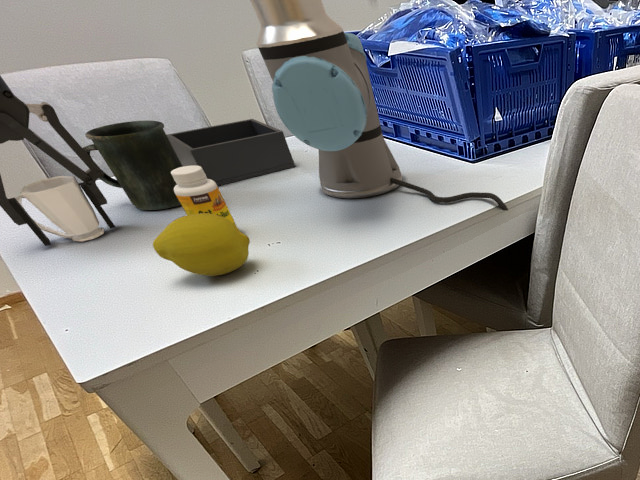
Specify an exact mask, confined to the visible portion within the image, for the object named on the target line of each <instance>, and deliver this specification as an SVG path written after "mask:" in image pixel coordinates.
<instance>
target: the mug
mask: <svg viewBox="0 0 640 480" xmlns="http://www.w3.org/2000/svg"><path fill="white" fill-rule="evenodd" d="M164 128H165V124H164V123H163V122H161V121H158V120H133V121H124V122H117V123H112V124H111V123H110V124H107V125H102V126H99V127H95V128H92V129H89V130H88V131H86V132H85V137H86V139H88V140H90V141H91V142H92V143H93V144H88V145H86V146H84V147H82V148H83V149H84V150H85V152H86V153H87V154H88V155H89V156H90V157H91V158H92V160H93V161H94V159H93V157H92V155H91V152H93V151H94V152H95V151H98V152H99V155H101V157H102V159H103V160H104V162H105V164H106V165H107V167H108V168H109V170H110V171H111V173H112V174H113V176H114V178H113V177H111V176H110V175H108V174H107V173H106V172H105V171H103V172H104V176H103V177H100V178H98V179H99V180H100V181H102V182H103V183H104V184H106V185H108V186H111V187H113V188H118V189H122V190H123V192H124V193H125V195H126V197H127V198H128V200H129V201H130V203H131V204H132V206H134V207H135V208H137V209H138V210H143V211H158V210H166V209H171V208H175V207H178V206H182V205H181V203H180V202H179V200H178V198H177V196H176V194H175V192H174V187H175V186H176V185H177V184H176V182H175V181H174V178H173V176H172V174H171V171H172V170H174V169H177V168H180V167H183V166H182V164H181V162H180V160H179V158H178V156H177V154H176V152H175V151H174V149H173V147H172V145H171V143H170V141H169V139H168V137H167V133H166V132H165V129H164Z"/></svg>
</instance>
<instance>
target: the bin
mask: <svg viewBox="0 0 640 480" xmlns="http://www.w3.org/2000/svg"><path fill="white" fill-rule="evenodd" d="M166 135H167V137H168V139H169V141H170V143H171V145H172V147H173V149H174V151H175V152H176V154H177V156H178V158H179V160H180V162H181V164H182V166H183V167H184V166H193V165H196V166H201V167H202V169H203V171H204V173H205V174H206V177H207V179H211V180H213V181H214V182H215V183H216V184H217V186H218V187H219V186H224V185H227V184H231V183H235V182H239V181H243V180H248V179H251V178H255V177H260V176H265V175H268V174H271V173H275V172H279V171H283V170H288V169H291V168H295V167H296V164H295V162H294V159H293V156H292V153H291V150H290V147H289V145H288V142H287V140H286V137H285V134H284V132H283V131H282V130H281V129H278V128H276V127H273V126H272V125H268V124H266V123H263V122H262V121H259V120H256V119H254V118H249V119H243V120H238V121H233V122H228V123H222V124H217V125H216V124H215V125H212V126H206V127H200V128H195V129H190V130H184V131H183V130H182V131H178V132H174V133H166Z"/></svg>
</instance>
